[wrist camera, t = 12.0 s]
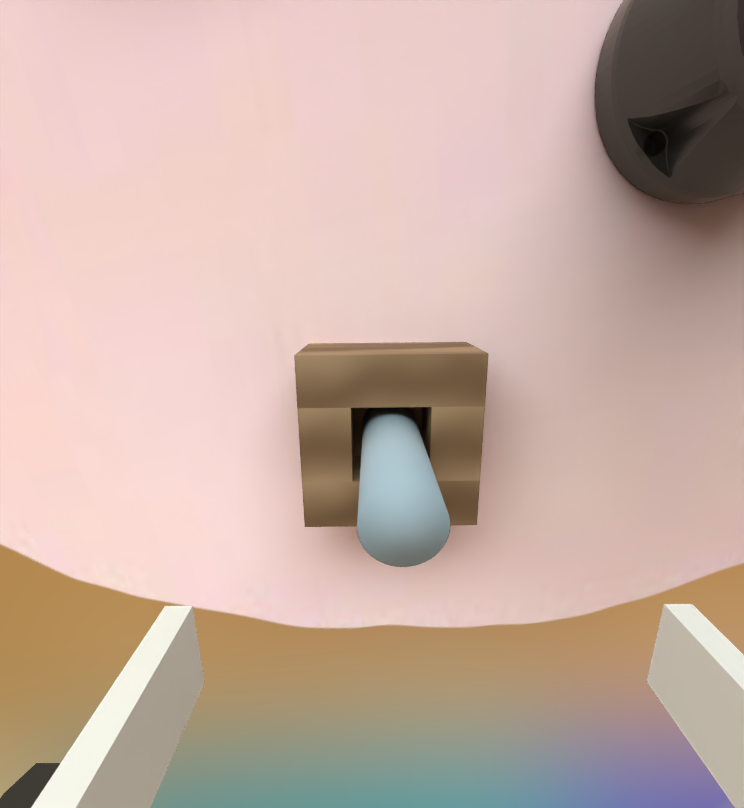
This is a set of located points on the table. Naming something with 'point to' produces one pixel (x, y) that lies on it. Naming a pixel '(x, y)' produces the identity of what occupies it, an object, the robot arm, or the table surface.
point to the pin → (398, 491)
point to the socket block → (388, 387)
